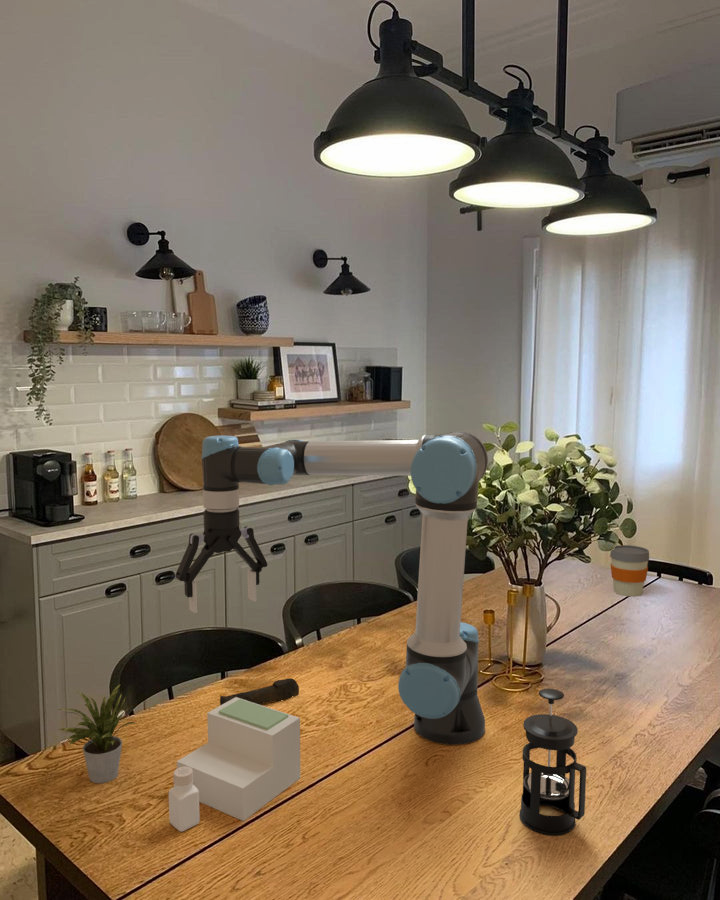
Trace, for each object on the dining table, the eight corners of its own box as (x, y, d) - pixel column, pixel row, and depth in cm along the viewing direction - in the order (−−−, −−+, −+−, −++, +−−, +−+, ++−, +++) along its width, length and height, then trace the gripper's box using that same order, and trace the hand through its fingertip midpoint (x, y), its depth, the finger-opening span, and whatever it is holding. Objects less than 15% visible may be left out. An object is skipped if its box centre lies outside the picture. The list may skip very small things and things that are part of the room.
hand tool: (224, 717, 166) (223, 697, 166) (219, 710, 170) (218, 690, 169) (303, 700, 175) (303, 681, 174) (296, 693, 179) (296, 675, 178)
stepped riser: (300, 777, 142) (299, 715, 140) (243, 821, 129) (242, 752, 127) (237, 753, 151) (235, 694, 149) (177, 792, 137) (175, 727, 136)
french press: (505, 818, 130) (509, 691, 127) (533, 795, 136) (537, 674, 134) (568, 848, 122) (573, 713, 119) (594, 822, 128) (599, 694, 126)
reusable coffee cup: (611, 597, 251) (613, 553, 249) (605, 586, 263) (607, 544, 261) (651, 599, 249) (653, 555, 247) (643, 587, 261) (645, 545, 259)
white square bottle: (188, 813, 131) (187, 762, 130) (201, 823, 128) (199, 771, 127) (168, 823, 128) (166, 771, 127) (180, 834, 125) (178, 780, 124)
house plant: (82, 752, 151) (79, 674, 149) (150, 753, 151) (147, 675, 149) (51, 792, 137) (47, 707, 135) (126, 794, 137) (123, 709, 135)
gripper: (266, 499, 169) (267, 591, 172) (157, 512, 155) (161, 611, 158) (281, 505, 163) (282, 599, 166) (170, 518, 149) (173, 621, 152)
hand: (223, 605), depth 162 cm, fingers open, 13 cm apart
